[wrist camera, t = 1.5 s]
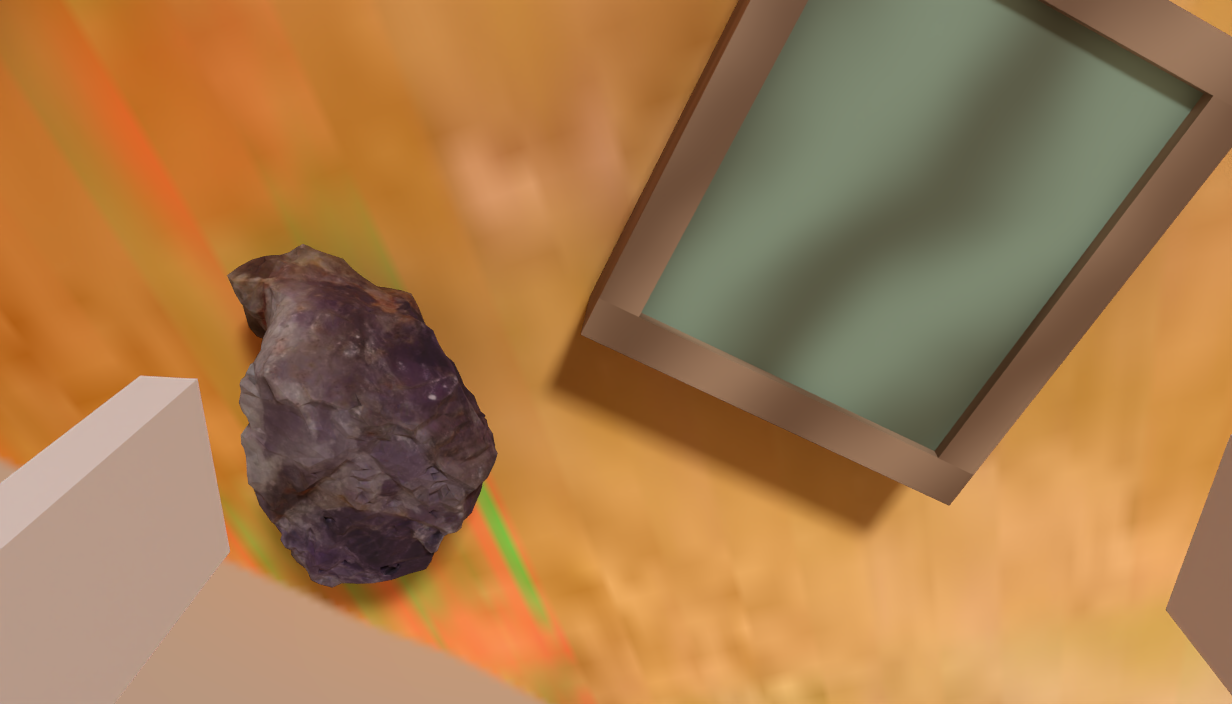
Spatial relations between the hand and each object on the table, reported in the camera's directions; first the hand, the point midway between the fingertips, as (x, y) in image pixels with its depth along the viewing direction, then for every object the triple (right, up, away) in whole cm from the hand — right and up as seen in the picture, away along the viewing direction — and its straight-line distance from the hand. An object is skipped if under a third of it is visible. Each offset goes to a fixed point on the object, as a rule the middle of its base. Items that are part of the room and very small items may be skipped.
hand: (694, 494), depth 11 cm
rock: (-10, +1, +24) cm, 26 cm away
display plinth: (+8, +8, +19) cm, 22 cm away
